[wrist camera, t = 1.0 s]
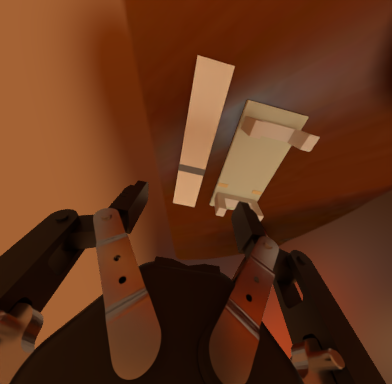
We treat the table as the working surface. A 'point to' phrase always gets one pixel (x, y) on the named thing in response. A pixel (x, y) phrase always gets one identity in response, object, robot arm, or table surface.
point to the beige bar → (201, 126)
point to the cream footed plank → (257, 154)
